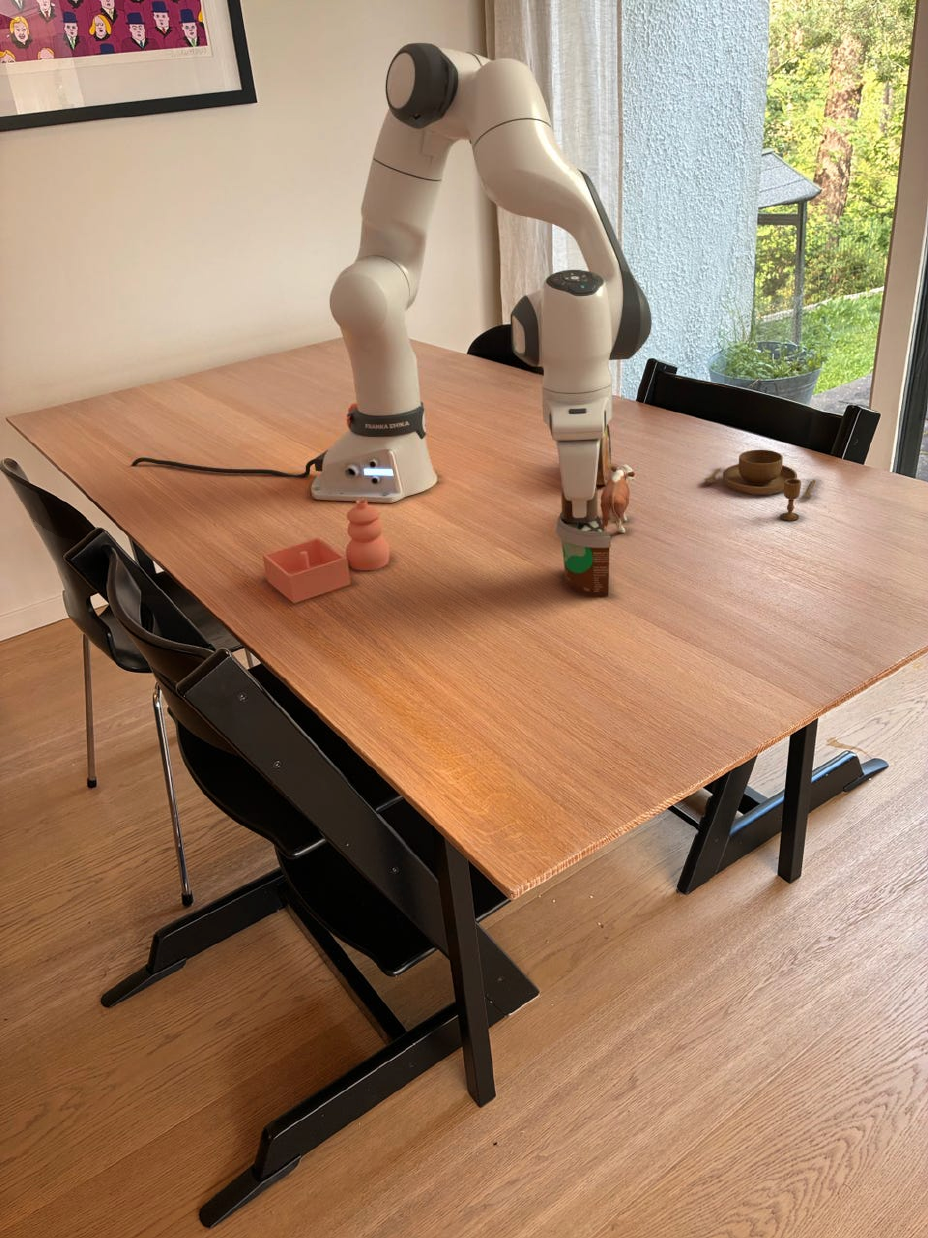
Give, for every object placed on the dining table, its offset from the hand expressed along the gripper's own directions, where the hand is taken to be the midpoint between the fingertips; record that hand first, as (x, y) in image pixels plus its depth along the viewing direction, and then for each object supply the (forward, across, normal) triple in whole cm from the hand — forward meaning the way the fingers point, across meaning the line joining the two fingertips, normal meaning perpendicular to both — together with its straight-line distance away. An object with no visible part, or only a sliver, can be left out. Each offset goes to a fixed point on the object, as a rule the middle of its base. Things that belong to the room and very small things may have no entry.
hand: (579, 506), depth 134 cm
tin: (+12, -41, +4) cm, 43 cm away
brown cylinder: (+2, 0, 0) cm, 2 cm away
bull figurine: (+12, -20, +6) cm, 24 cm away
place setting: (+12, -31, +29) cm, 44 cm away
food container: (+12, 0, 0) cm, 12 cm away
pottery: (+12, -5, -36) cm, 38 cm away
